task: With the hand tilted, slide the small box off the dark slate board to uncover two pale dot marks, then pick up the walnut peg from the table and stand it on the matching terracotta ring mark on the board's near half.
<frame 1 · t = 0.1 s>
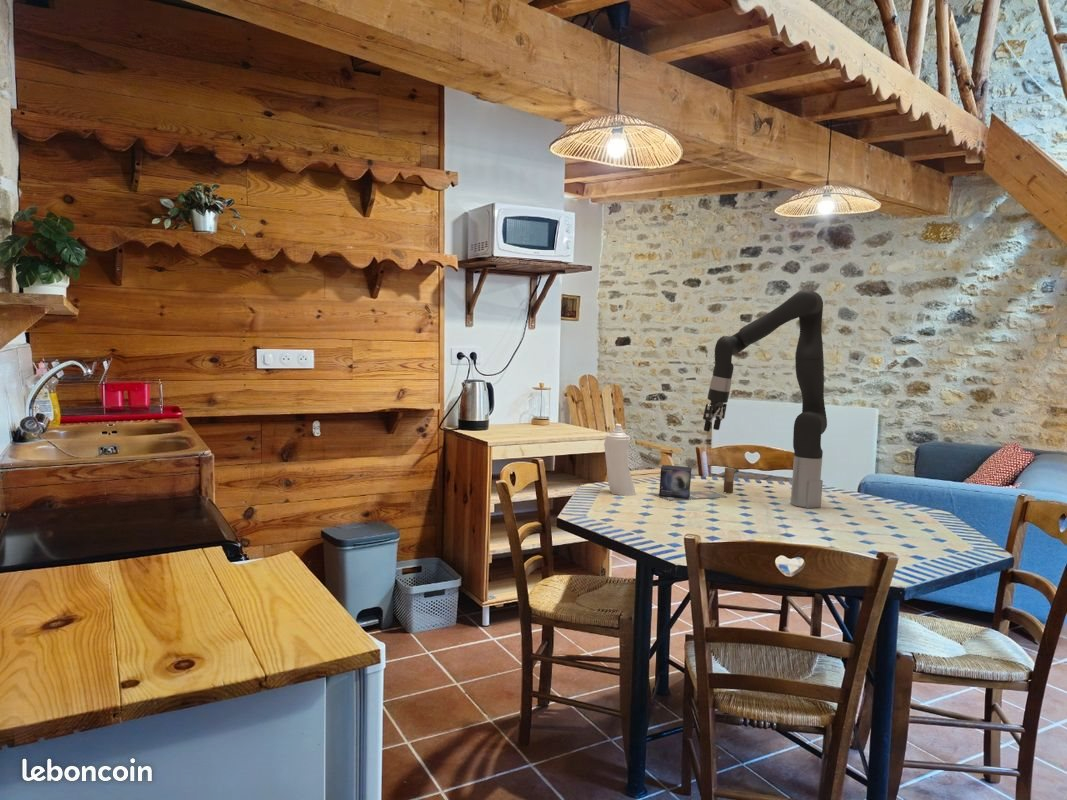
hand: (711, 430, 266), 22 cm above the table, tool pointing down, fingers open, 8 cm apart
peg: (728, 492, 262), on the table
small box: (674, 496, 250), resting on layout board
spray can: (618, 493, 254), on the table
layout board: (690, 495, 253), on the table
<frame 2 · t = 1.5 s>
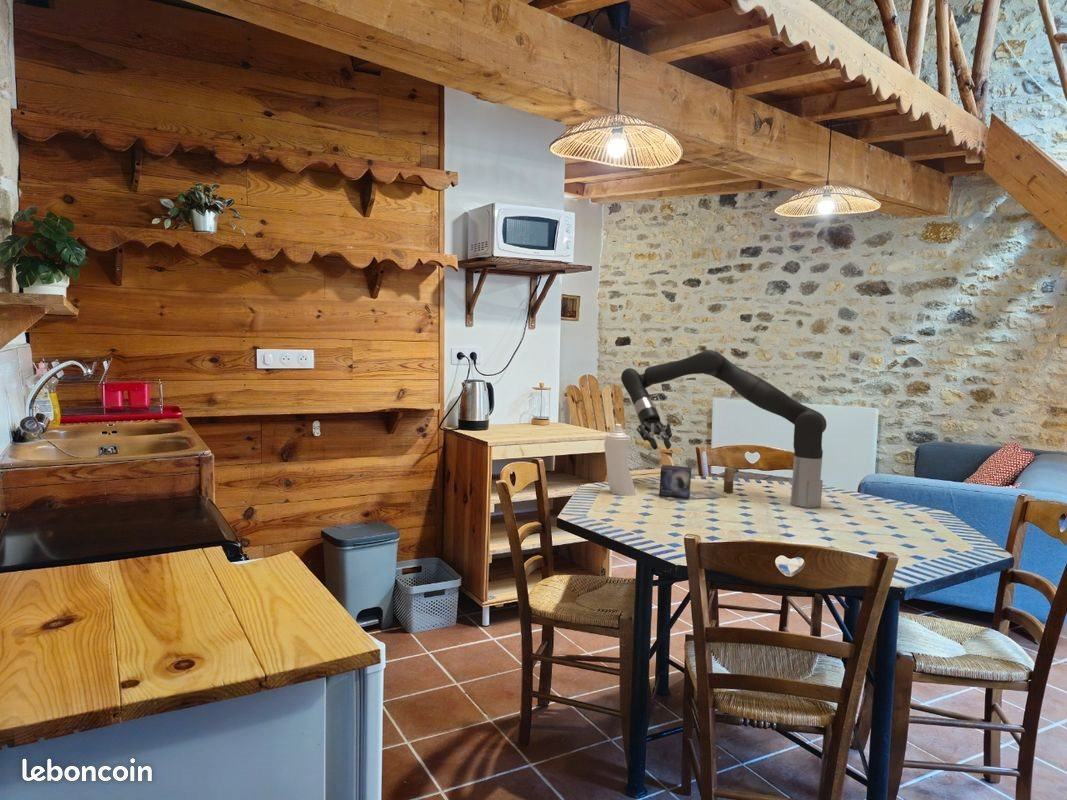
hand: (662, 448, 257), 16 cm above the table, tool tilted 45°, fingers open, 5 cm apart
nothing on the table moved.
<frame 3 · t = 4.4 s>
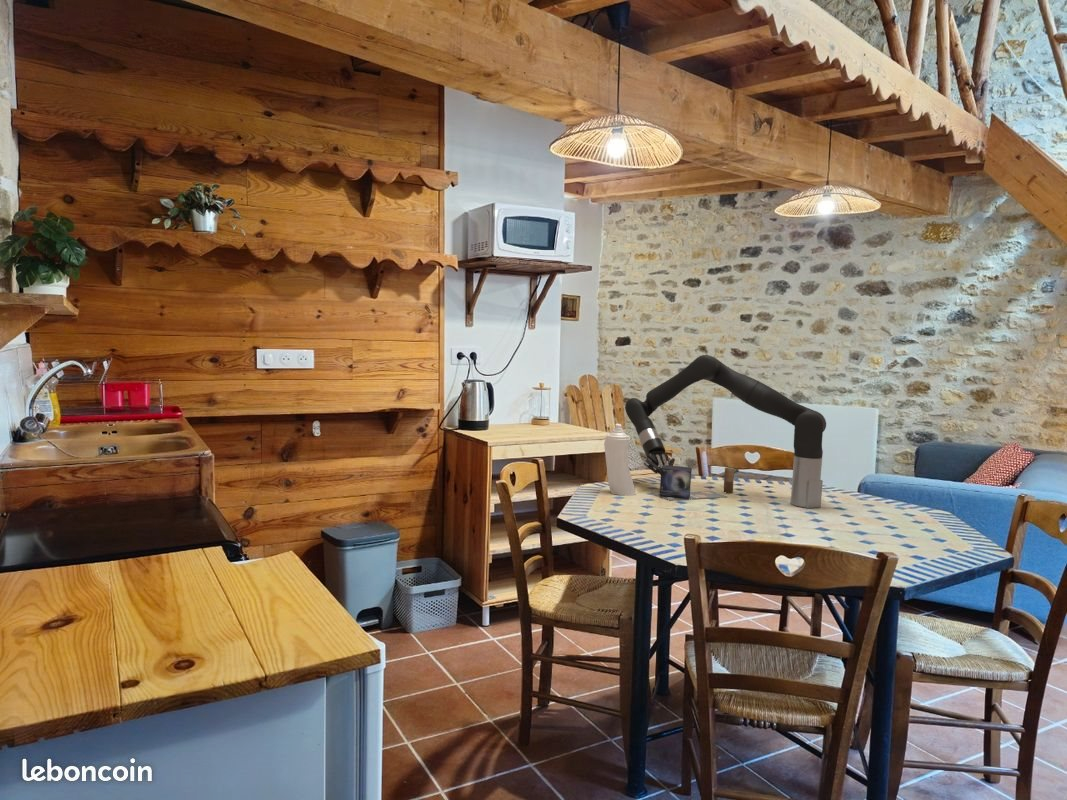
hand: (668, 481, 254), 5 cm above the table, tool tilted 45°, fingers closed
small box: (674, 496, 250), resting on layout board, touching gripper
everything else where it was.
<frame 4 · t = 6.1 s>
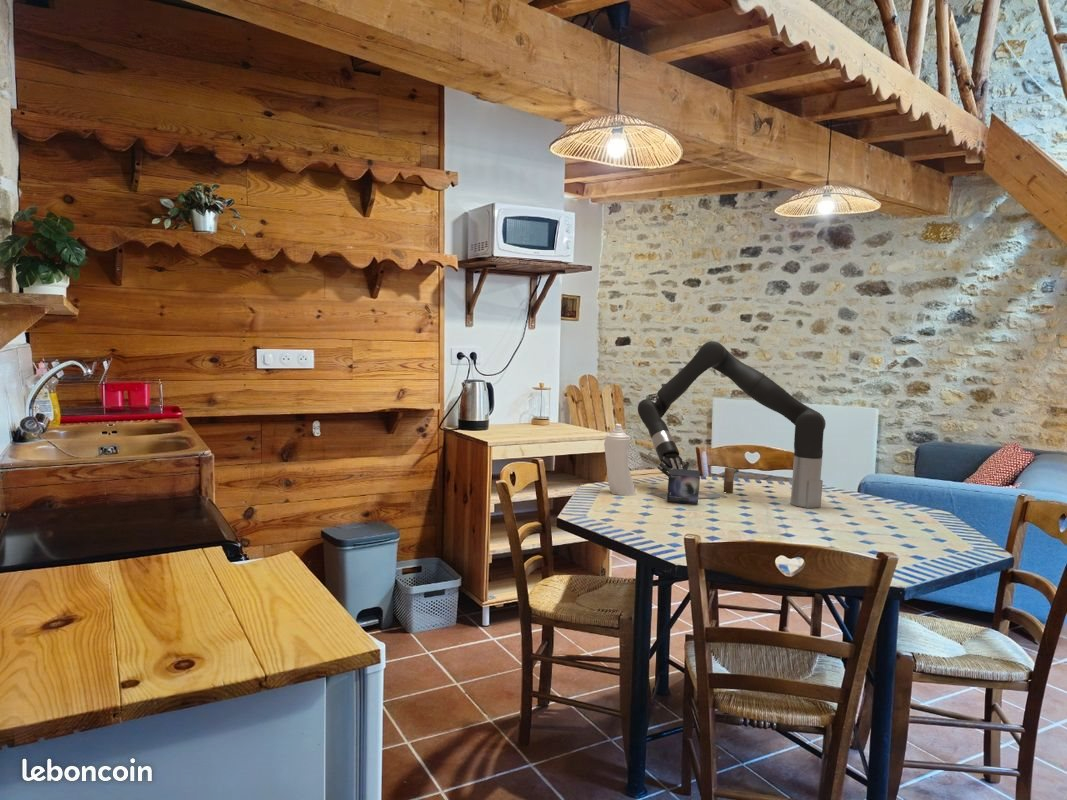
hand: (682, 486, 246), 5 cm above the table, tool tilted 45°, fingers closed
small box: (682, 500, 243), on the table, touching gripper
everything else where it was.
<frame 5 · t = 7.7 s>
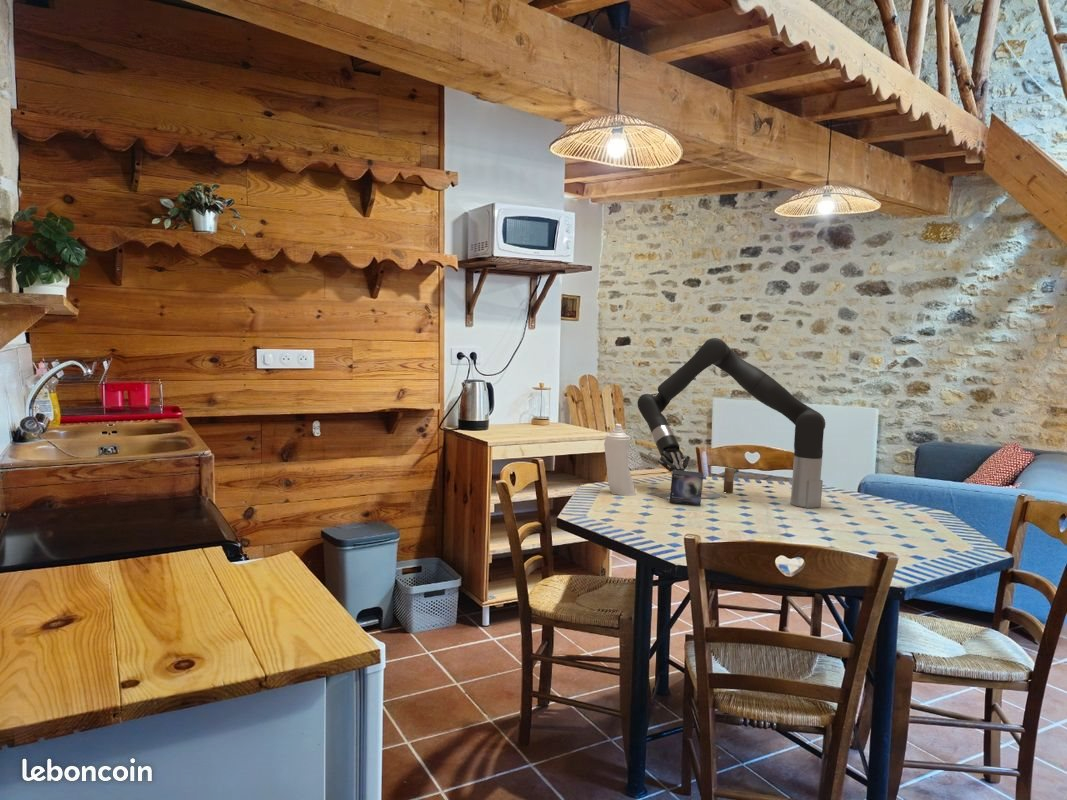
hand: (683, 479, 245), 7 cm above the table, tool tilted 45°, fingers closed
small box: (685, 502, 242), on the table, touching layout board
everything else where it was.
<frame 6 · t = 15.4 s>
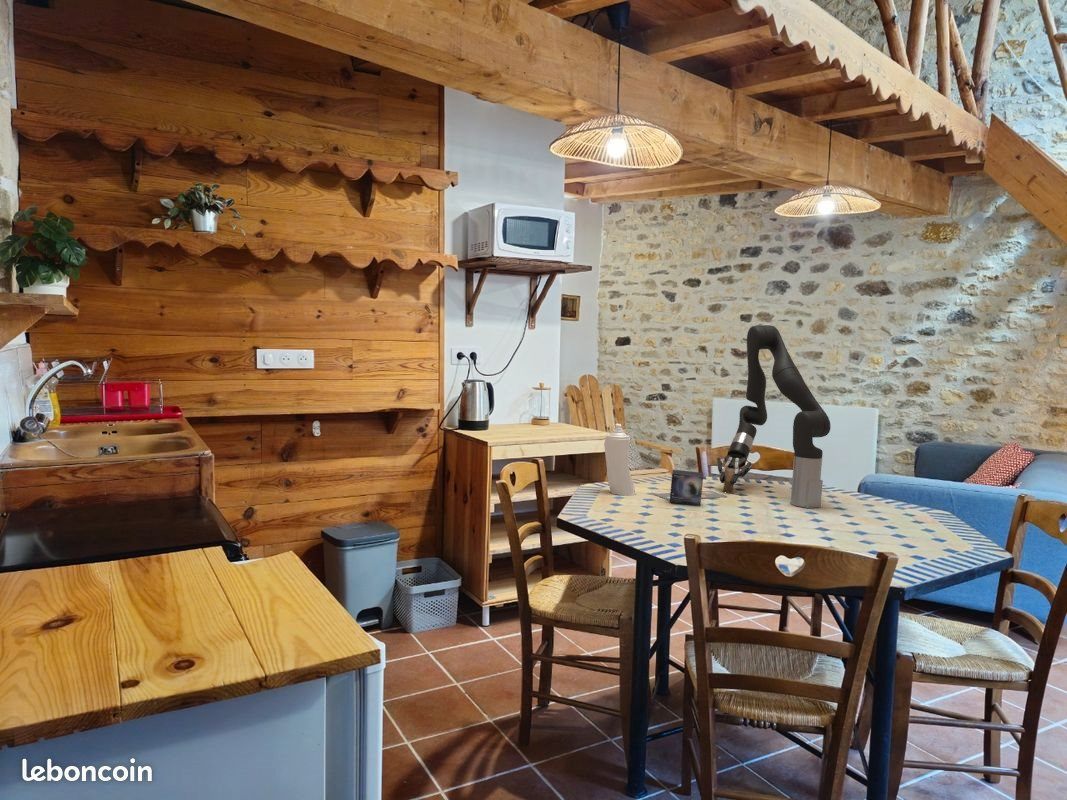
hand: (726, 482, 260), 4 cm above the table, tool tilted 45°, fingers closed on peg, 3 cm apart
peg: (728, 492, 262), on the table, touching gripper
everything else where it was.
when the fingers open (6 cm above the table, at t = 20.3 s): peg drops 2 cm, resting on layout board.
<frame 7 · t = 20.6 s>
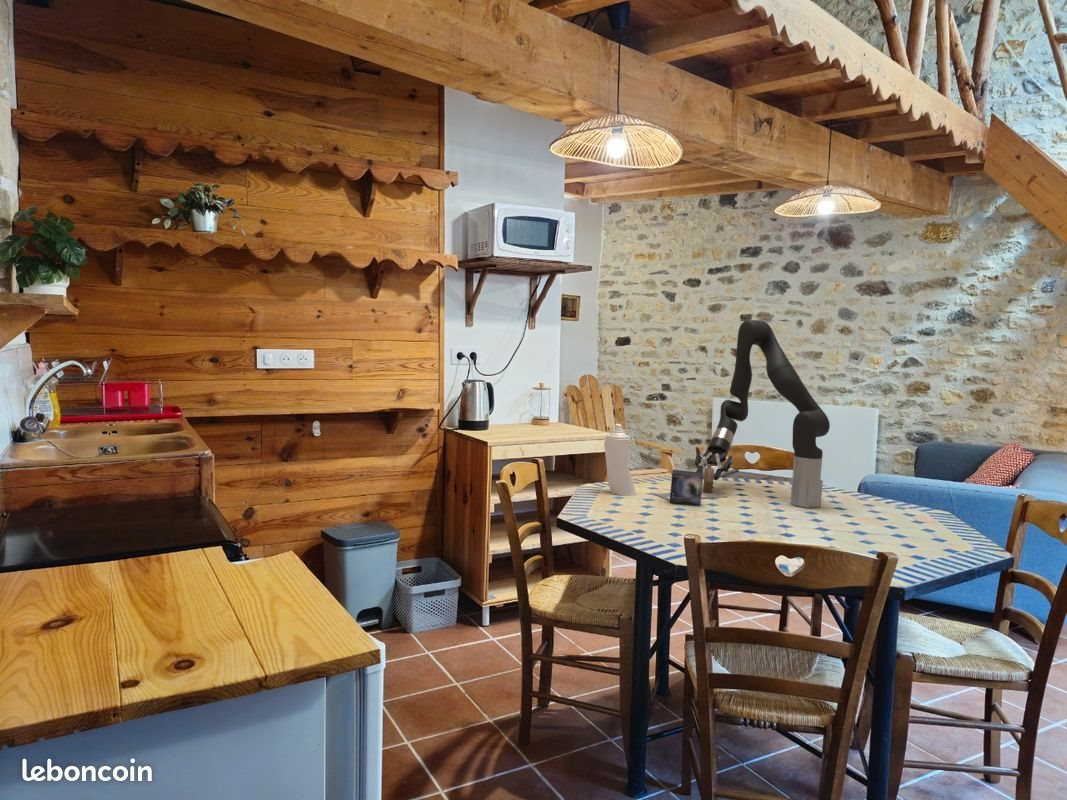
hand: (706, 477, 256), 6 cm above the table, tool tilted 45°, fingers open, 6 cm apart
peg: (707, 492, 258), resting on layout board
everything else where it was.
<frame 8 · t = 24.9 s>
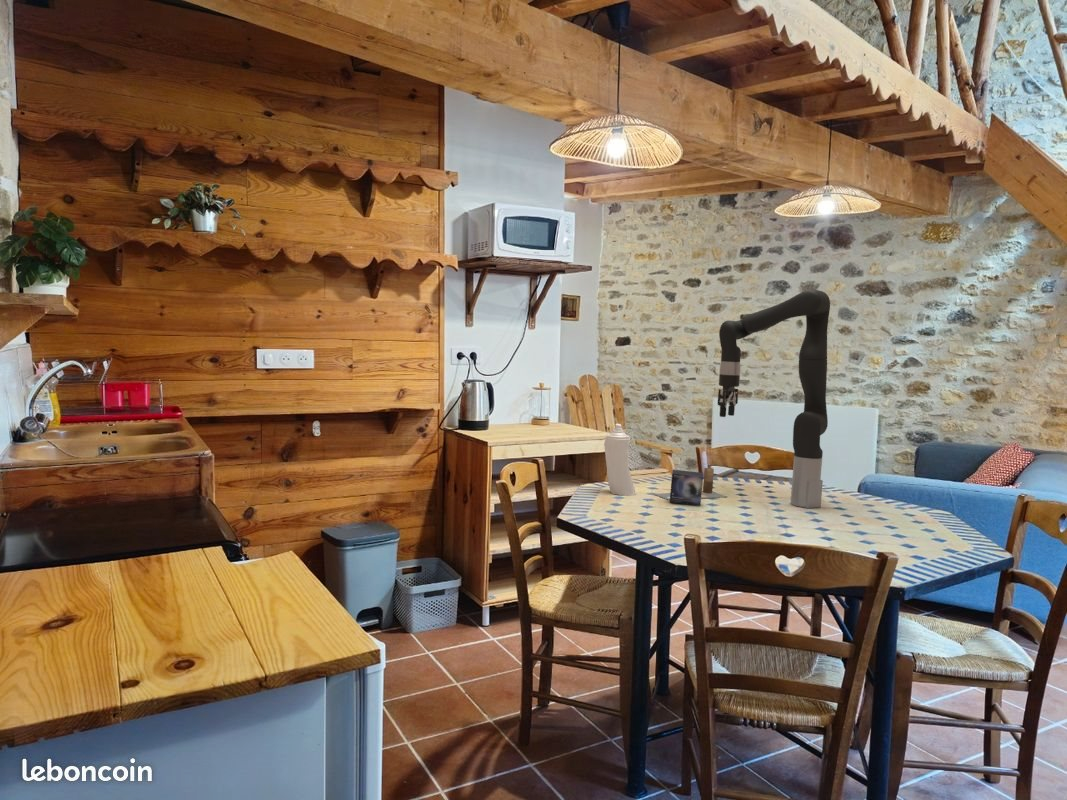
hand: (726, 416, 266), 28 cm above the table, tool pointing down, fingers open, 8 cm apart
nothing on the table moved.
at the end: peg 0.1 cm from the target spot, resting on layout board; peg tilted 0°; small box moved 8.9 cm from its start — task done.
